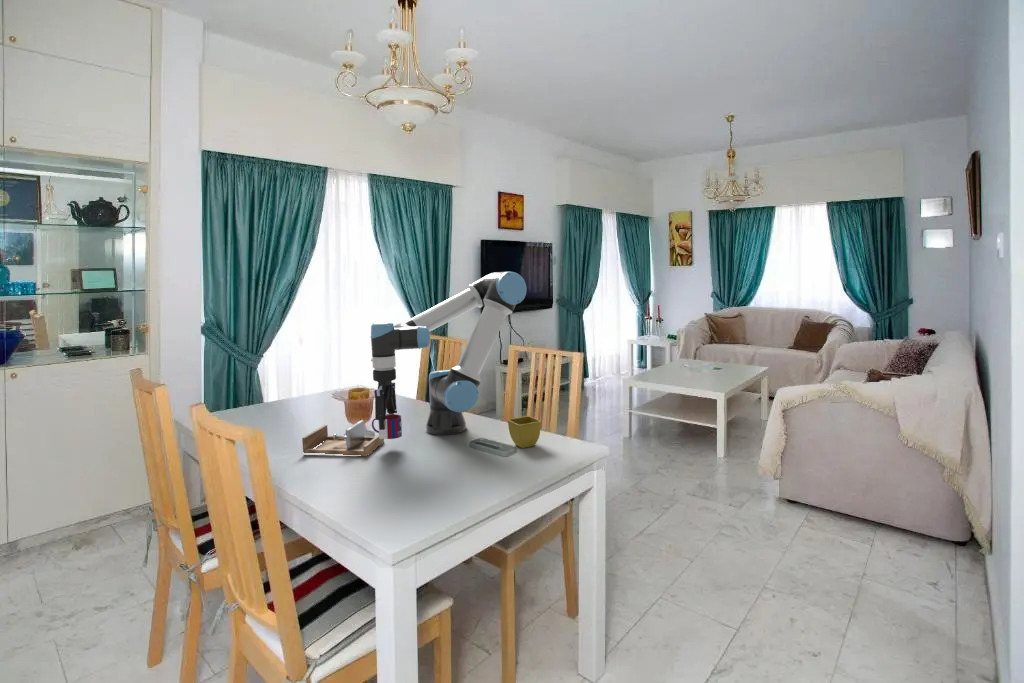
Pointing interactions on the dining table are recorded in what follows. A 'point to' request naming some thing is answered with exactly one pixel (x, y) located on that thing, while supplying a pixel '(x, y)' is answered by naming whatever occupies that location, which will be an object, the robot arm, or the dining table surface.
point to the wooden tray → (337, 444)
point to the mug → (392, 426)
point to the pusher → (353, 435)
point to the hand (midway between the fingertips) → (387, 435)
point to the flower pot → (524, 431)
